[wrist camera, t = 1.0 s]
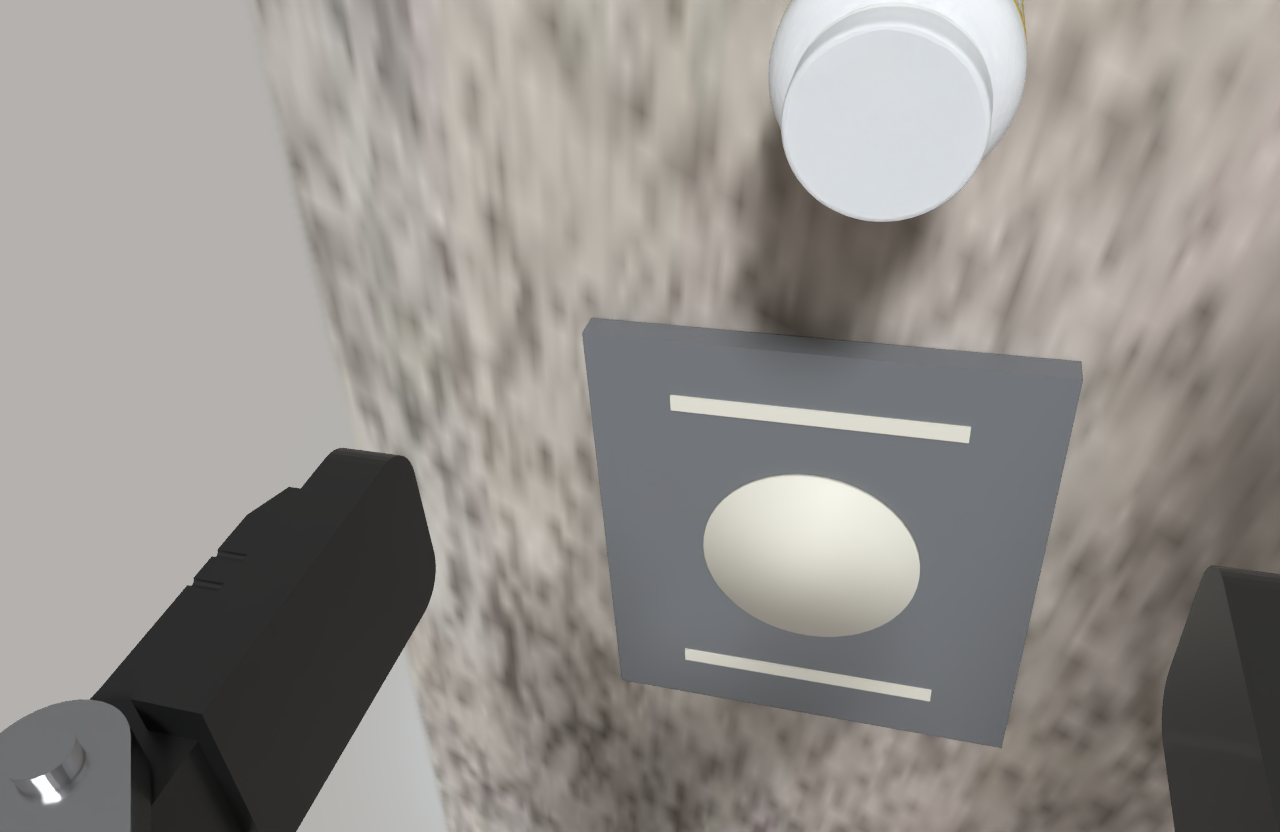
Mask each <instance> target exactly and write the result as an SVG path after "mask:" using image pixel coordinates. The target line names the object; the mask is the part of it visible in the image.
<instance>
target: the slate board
mask: <svg viewBox="0 0 1280 832" xmlns="http://www.w3.org/2000/svg"><path fill="white" fill-rule="evenodd" d="M582 335H583V344H584V352H585V361H586V370H587V379H588V387H589V396H590V405H591V413H592V422H593V431H594V440H595V448H596V457H597V466H598V475H599V483H600V492H601V501H602V510H603V518H604V527H605V536H606V545H607V553H608V562H609V571H610V579H611V588H612V597H613V606H614V614H615V623H616V632H617V641H618V649H619V658H620V667H621V676H622V680H626V681H631V682H637V683H642V684H648V685H654V686H659V687H665V688H670V689H676V690H681V691H687V692H693V693H698V694H704V695H709V696H715V697H720V698H726V699H732V700H737V701H743V702H748V703H754V704H759V705H765V706H770V707H776V708H782V709H787V710H793V711H798V712H804V713H809V714H815V715H821V716H826V717H832V718H837V719H843V720H848V721H854V722H860V723H865V724H871V725H876V726H882V727H887V728H893V729H899V730H904V731H910V732H915V733H921V734H926V735H932V736H938V737H943V738H949V739H954V740H960V741H965V742H971V743H976V744H982V745H988V746H993V747H999V748H1002V743H1003V739H1004V734H1005V730H1006V725H1007V721H1008V716H1009V712H1010V707H1011V703H1012V698H1013V694H1014V689H1015V684H1016V680H1017V675H1018V671H1019V666H1020V662H1021V657H1022V653H1023V648H1024V644H1025V639H1026V635H1027V630H1028V626H1029V621H1030V617H1031V612H1032V608H1033V603H1034V599H1035V594H1036V590H1037V585H1038V581H1039V576H1040V572H1041V567H1042V563H1043V558H1044V553H1045V549H1046V544H1047V540H1048V535H1049V531H1050V526H1051V522H1052V517H1053V513H1054V508H1055V504H1056V499H1057V495H1058V490H1059V486H1060V481H1061V477H1062V472H1063V468H1064V463H1065V459H1066V454H1067V450H1068V445H1069V441H1070V436H1071V432H1072V427H1073V422H1074V418H1075V413H1076V409H1077V404H1078V400H1079V395H1080V391H1081V386H1082V382H1083V375H1082V364H1081V362H1079V361H1068V360H1057V359H1045V358H1034V357H1023V356H1012V355H1000V354H989V353H978V352H967V351H956V350H944V349H933V348H922V347H911V346H899V345H888V344H877V343H866V342H855V341H843V340H832V339H821V338H810V337H798V336H787V335H776V334H765V333H754V332H742V331H731V330H720V329H709V328H697V327H686V326H675V325H664V324H653V323H641V322H630V321H619V320H608V319H596V318H591V319H590V321H589V323H588V324H587V326H586V328H585V329H584V331H583V333H582Z"/></svg>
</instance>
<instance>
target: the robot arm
mask: <svg viewBox="0 0 1280 832" xmlns="http://www.w3.org/2000/svg"><path fill="white" fill-rule="evenodd" d="M435 572H436V563H435V555H434V550H433V546H432V542H431V538H430V534H429V530H428V526H427V522H426V518H425V514H424V510H423V506H422V501H421V497H420V493H419V489H418V485H417V481H416V477H415V473H414V470H413V467H412V465H411V463H410V461H409V460H408V459H407V458H405V457H404V456H400V455H393V454H385V453H378V452H370V451H363V450H355V449H347V448H339V449H336V450H334V451H333V452H331V453H330V454H329V455H328V456H327V457H326V458H325V459H324V461H323V462H322V463H321V464H320V466H319V467H318V468H317V469H316V471H315V472H314V473H313V474H312V476H311V477H310V478H309V479H308V480H307V482H306V483H305V484H304V485H303V487H302V488H301V489H299V488H292V487H288V488H287V489H285V490H284V491H282V492H281V493H279V494H278V495H276V496H275V497H274V498H272V499H271V500H269V501H267V502H266V503H264V504H263V505H261V506H260V507H259V508H257V509H255V510H254V511H252V512H251V513H249V514H248V515H247V516H246V517H245V518H244V519H243V520H242V522H241V523H240V524H239V525H238V526H237V527H236V529H235V530H234V531H233V532H232V533H231V535H230V536H229V537H228V538H227V539H226V541H225V542H224V543H223V544H222V545H221V546H220V547H219V549H218V554H217V556H216V557H211V558H210V559H209V560H208V562H207V563H206V564H205V565H204V566H203V568H202V569H201V570H200V571H199V572H198V574H197V575H196V576H195V577H194V583H193V585H192V586H187V587H186V588H185V589H184V590H183V592H181V594H180V595H179V596H178V597H177V598H176V599H175V601H174V602H173V603H172V604H171V606H170V607H169V608H168V609H167V610H166V611H165V612H164V614H163V615H162V616H161V617H160V618H159V620H158V621H157V622H156V623H155V624H154V626H153V627H152V628H151V629H150V630H149V631H148V632H147V634H146V635H145V636H144V637H143V638H142V640H141V641H140V642H139V643H138V644H137V646H136V647H135V648H134V649H133V650H132V651H131V653H130V654H129V655H128V656H127V657H126V659H125V660H124V661H123V662H122V663H121V664H120V666H119V667H118V668H117V669H116V670H115V671H114V673H113V674H112V675H111V676H110V677H109V679H108V680H107V681H106V682H105V683H104V684H103V686H102V687H101V688H100V689H99V690H98V691H97V692H96V694H94V696H93V697H92V698H91V699H90V700H72V701H65V702H61V703H58V704H54V705H50V706H48V707H45V708H42V709H40V710H37V711H35V712H34V713H31V714H29V715H27V716H25V717H23V718H22V719H20V720H18V721H17V722H15V723H13V724H12V725H10V726H9V727H8V728H6V729H5V730H4V731H2V732H1V733H0V832H296V831H297V829H298V827H299V826H300V824H301V822H302V821H303V819H304V817H305V815H306V814H307V812H308V810H309V809H310V807H311V805H312V803H313V802H314V800H315V798H316V797H317V795H318V793H319V792H320V790H321V788H322V786H323V785H324V783H325V781H326V780H327V778H328V776H329V775H330V773H331V771H332V769H333V768H334V766H335V764H336V763H337V760H338V759H339V757H340V755H341V754H342V752H343V751H344V749H345V747H346V746H347V744H348V742H349V740H350V739H351V737H352V735H353V734H354V732H355V730H356V728H357V727H358V725H359V723H360V722H361V720H362V718H363V716H364V715H365V713H366V711H367V710H368V708H369V706H370V705H371V703H372V701H373V699H374V698H375V696H376V694H377V693H378V691H379V689H380V687H381V686H382V684H383V682H384V681H385V679H386V677H387V675H388V674H389V672H390V670H391V669H392V667H393V665H394V664H395V662H396V660H397V659H398V657H399V655H400V653H401V652H402V650H403V648H404V647H405V645H406V643H407V641H408V640H409V638H410V636H411V635H412V633H413V631H414V630H415V628H416V626H417V624H418V623H419V621H420V619H421V618H422V616H423V614H424V612H425V610H426V608H427V606H428V604H429V601H430V598H431V595H432V591H433V587H434V581H435ZM1162 737H1163V746H1164V754H1165V761H1166V768H1167V775H1168V783H1169V790H1170V797H1171V805H1172V812H1173V819H1174V827H1175V832H1280V574H1274V573H1266V572H1259V571H1251V570H1244V569H1236V568H1228V567H1221V566H1210V567H1209V568H1208V569H1207V570H1206V571H1205V573H1204V575H1203V577H1202V579H1201V582H1200V585H1199V587H1198V590H1197V593H1196V596H1195V599H1194V602H1193V605H1192V607H1191V610H1190V613H1189V616H1188V619H1187V622H1186V624H1185V627H1184V630H1183V633H1182V636H1181V639H1180V642H1179V644H1178V647H1177V650H1176V653H1175V656H1174V659H1173V661H1172V664H1171V667H1170V670H1169V673H1168V676H1167V681H1166V685H1165V691H1164V698H1163V709H1162Z"/></svg>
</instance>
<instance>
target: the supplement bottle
mask: <svg viewBox="0 0 1280 832" xmlns="http://www.w3.org/2000/svg"><path fill="white" fill-rule="evenodd" d="M1026 68H1027V40H1026V29H1025V18H1024V5H1023V0H791V2H790V4H789V6H788V8H787V10H786V11H785V13H784V15H783V17H782V19H781V22H780V24H779V27H778V30H777V33H776V36H775V39H774V42H773V46H772V50H771V56H770V62H769V91H770V98H771V103H772V107H773V110H774V114H775V117H776V119H777V122H778V124H779V127H780V129H781V137H782V143H783V148H784V152H785V155H786V158H787V161H788V163H789V165H790V167H791V169H792V171H793V173H794V175H795V176H796V178H797V179H798V180H799V182H800V183H801V184H802V186H803V187H804V188H805V189H806V190H807V191H808V192H809V193H810V194H811V195H812V196H813V197H814V198H815V199H817V200H818V201H819V202H821V203H822V204H823V205H825V206H827V207H828V208H830V209H832V210H833V211H835V212H838V213H840V214H842V215H845V216H848V217H851V218H855V219H859V220H864V221H873V222H889V221H900V220H904V219H909V218H913V217H916V216H919V215H922V214H924V213H927V212H929V211H931V210H933V209H935V208H937V207H938V206H940V205H942V204H943V203H945V202H946V201H948V200H949V199H950V198H951V197H953V196H954V195H955V194H956V193H957V192H959V191H960V190H961V189H962V188H963V187H964V185H965V184H966V183H967V182H968V181H969V180H970V178H971V177H972V176H973V174H974V173H975V171H976V169H977V168H978V166H979V164H980V162H981V160H982V159H984V158H985V157H986V156H987V155H988V153H989V152H990V151H991V150H992V149H993V148H994V147H995V146H996V144H997V143H998V142H999V141H1000V139H1001V138H1002V137H1003V135H1004V134H1005V132H1006V131H1007V129H1008V127H1009V126H1010V124H1011V122H1012V120H1013V118H1014V115H1015V113H1016V111H1017V109H1018V106H1019V103H1020V100H1021V97H1022V94H1023V89H1024V84H1025V79H1026Z"/></svg>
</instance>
